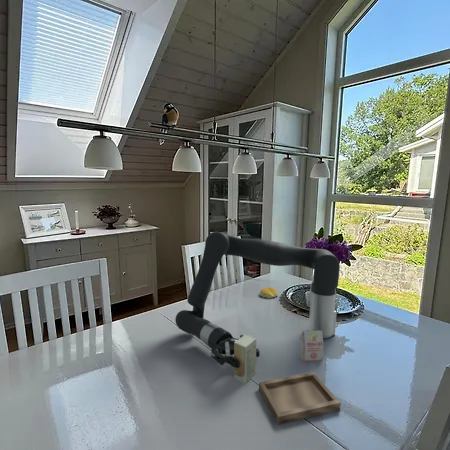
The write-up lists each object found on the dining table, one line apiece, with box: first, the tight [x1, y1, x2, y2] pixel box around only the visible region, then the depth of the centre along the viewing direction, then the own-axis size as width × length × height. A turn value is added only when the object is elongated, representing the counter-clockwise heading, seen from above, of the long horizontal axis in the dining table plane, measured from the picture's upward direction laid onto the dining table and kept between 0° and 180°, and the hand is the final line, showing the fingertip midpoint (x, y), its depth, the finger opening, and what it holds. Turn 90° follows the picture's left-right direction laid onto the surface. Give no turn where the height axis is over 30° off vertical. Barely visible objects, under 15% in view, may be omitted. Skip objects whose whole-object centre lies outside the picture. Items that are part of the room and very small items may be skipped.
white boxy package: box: [299, 330, 324, 363], centre depth 101 cm, size 4×7×10 cm, turn 94°
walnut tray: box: [258, 371, 341, 425], centre depth 83 cm, size 18×13×2 cm
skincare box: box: [233, 334, 257, 384], centre depth 91 cm, size 6×4×12 cm
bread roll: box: [259, 287, 279, 299], centre depth 155 cm, size 8×9×4 cm
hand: (249, 359), depth 90 cm, fingers open, 8 cm apart
